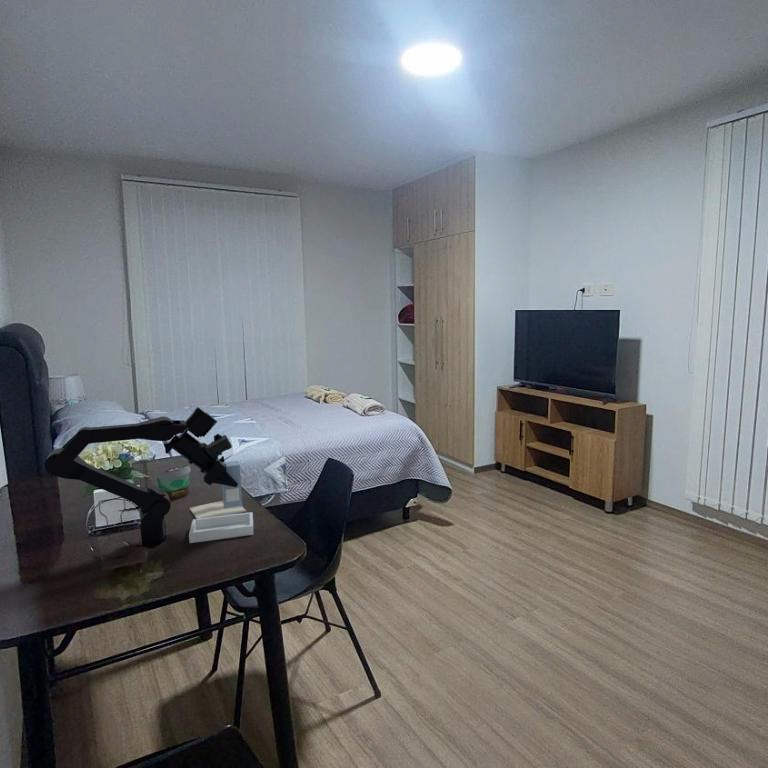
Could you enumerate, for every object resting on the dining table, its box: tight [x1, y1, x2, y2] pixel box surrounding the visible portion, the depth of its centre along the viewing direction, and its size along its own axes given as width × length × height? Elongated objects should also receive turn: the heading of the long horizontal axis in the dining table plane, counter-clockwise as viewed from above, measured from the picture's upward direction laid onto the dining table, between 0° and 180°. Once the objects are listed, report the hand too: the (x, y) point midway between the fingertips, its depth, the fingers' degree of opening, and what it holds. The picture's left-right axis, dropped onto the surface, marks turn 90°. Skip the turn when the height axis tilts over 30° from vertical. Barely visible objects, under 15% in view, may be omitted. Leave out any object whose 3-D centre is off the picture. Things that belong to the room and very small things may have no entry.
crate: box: [188, 511, 254, 544], centre depth 147 cm, size 17×11×3 cm, turn 104°
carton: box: [221, 460, 243, 508], centre depth 149 cm, size 5×5×12 cm
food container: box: [154, 463, 192, 501], centre depth 178 cm, size 12×6×10 cm, turn 143°
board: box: [189, 500, 248, 519], centre depth 163 cm, size 14×14×1 cm
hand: (236, 483), depth 150 cm, fingers closed on carton, 5 cm apart
